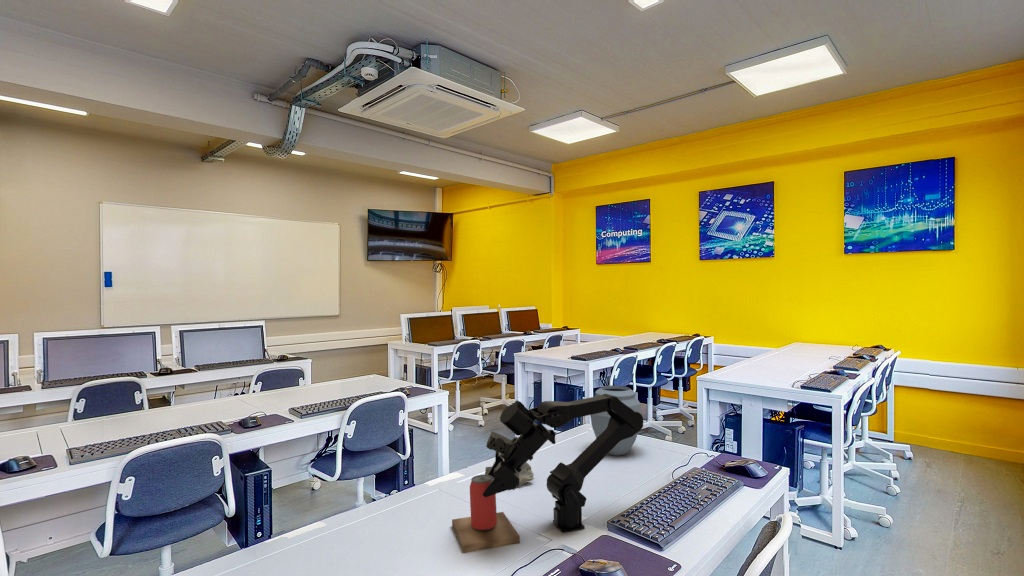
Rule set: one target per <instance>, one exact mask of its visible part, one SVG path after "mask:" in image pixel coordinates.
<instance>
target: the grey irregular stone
mask: <svg viewBox="0 0 1024 576" xmlns="http://www.w3.org/2000/svg"><path fill="white" fill-rule="evenodd" d="M491 467H492V466H486V467H485V471H484V472H485V473H484V475H487V474H488V472H489V471H490V469H491ZM515 470H516V469H515ZM516 471H517V470H516ZM517 472H518V471H517ZM518 473H519V485H518V486H517V487H516V488H519V487H521V486H524V485H525V484H526V483H528V482H531V481H533V480H535V477H534V472H533V470H532V466H531V465H530V463H528V461H527V462H526V463H525V464H524V465H523V466H522V470H521V471H520V472H518Z"/></svg>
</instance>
